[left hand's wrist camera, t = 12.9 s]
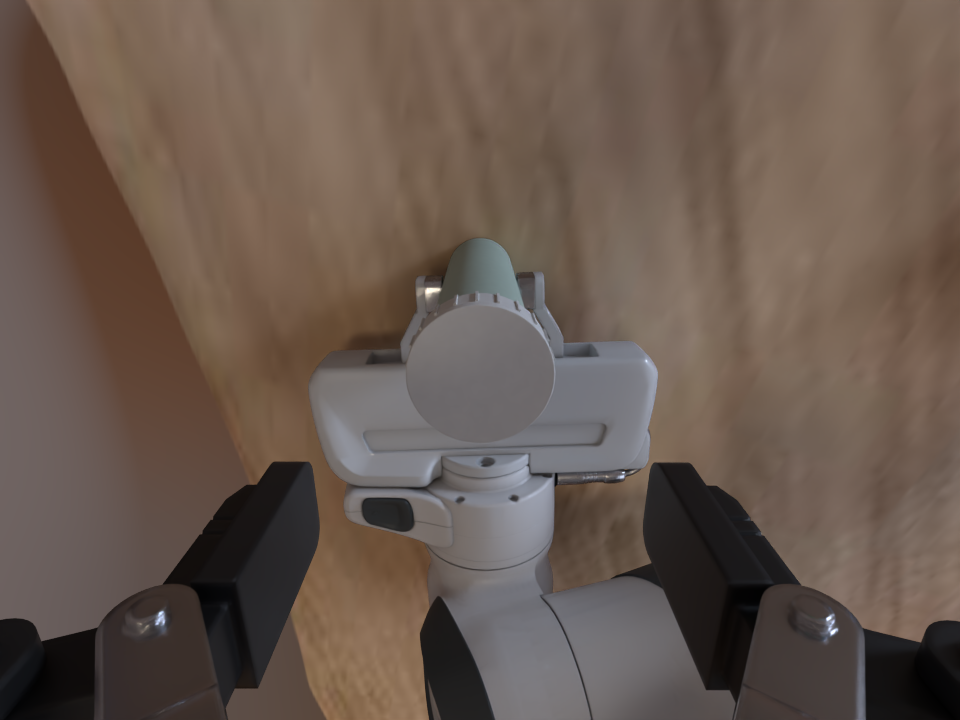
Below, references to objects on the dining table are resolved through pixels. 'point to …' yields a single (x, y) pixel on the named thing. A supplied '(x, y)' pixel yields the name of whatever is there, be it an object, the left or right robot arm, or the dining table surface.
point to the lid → (480, 368)
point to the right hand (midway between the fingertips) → (478, 275)
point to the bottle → (480, 271)
